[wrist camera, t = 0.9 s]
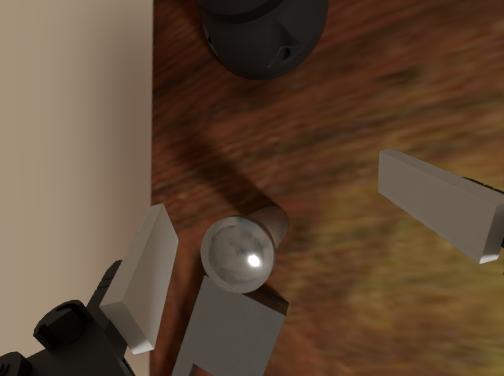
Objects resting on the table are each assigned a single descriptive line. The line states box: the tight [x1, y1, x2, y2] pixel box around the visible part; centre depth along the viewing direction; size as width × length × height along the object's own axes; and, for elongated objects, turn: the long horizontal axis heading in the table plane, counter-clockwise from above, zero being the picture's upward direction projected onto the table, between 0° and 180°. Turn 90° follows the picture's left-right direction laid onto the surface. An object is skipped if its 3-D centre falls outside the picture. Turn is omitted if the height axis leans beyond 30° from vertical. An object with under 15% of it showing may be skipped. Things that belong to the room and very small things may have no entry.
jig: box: [171, 274, 289, 376], centre depth 32 cm, size 22×11×3 cm, turn 161°
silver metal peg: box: [201, 205, 289, 293], centre depth 24 cm, size 6×6×14 cm
